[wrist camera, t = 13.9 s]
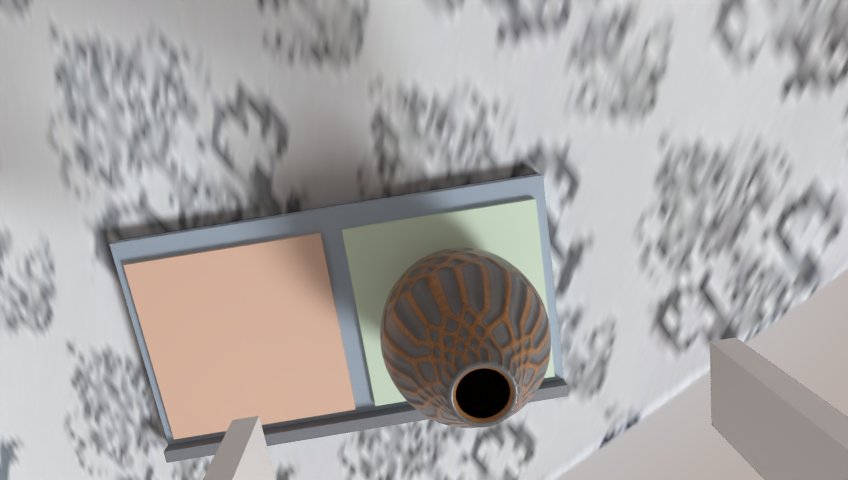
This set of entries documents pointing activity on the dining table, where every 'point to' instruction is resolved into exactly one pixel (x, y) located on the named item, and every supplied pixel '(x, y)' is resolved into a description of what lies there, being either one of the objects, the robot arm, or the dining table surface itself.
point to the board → (309, 308)
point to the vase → (465, 337)
